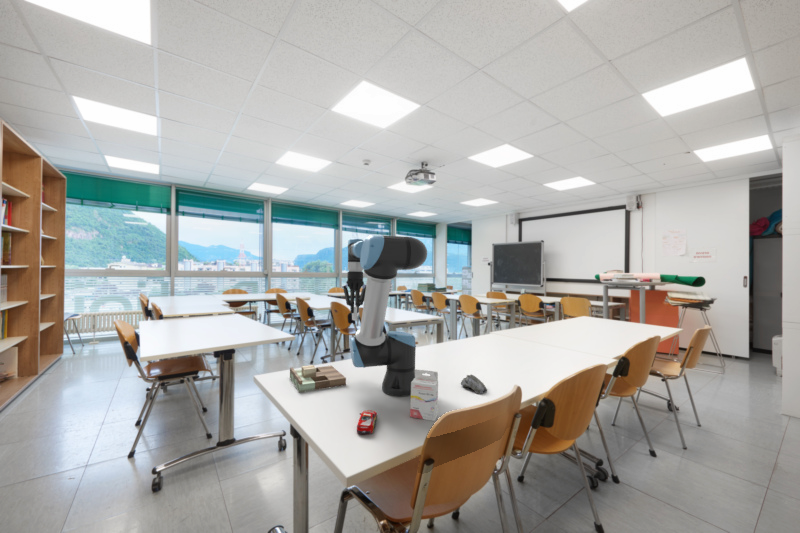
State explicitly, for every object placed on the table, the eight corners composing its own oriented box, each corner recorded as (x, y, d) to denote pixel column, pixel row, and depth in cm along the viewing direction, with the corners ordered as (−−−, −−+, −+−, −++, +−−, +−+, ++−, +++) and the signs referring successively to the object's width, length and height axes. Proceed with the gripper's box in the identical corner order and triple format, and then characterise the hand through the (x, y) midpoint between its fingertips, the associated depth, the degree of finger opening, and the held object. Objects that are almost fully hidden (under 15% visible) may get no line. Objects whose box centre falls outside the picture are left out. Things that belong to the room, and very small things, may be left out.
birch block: (316, 376, 139) (316, 368, 139) (304, 378, 137) (304, 369, 137) (313, 373, 143) (313, 365, 144) (301, 374, 141) (301, 366, 141)
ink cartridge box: (409, 417, 108) (410, 372, 108) (413, 411, 113) (414, 368, 113) (435, 421, 105) (436, 375, 106) (438, 415, 110) (438, 371, 110)
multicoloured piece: (345, 385, 138) (345, 374, 138) (299, 392, 129) (299, 380, 129) (331, 371, 155) (331, 362, 155) (289, 377, 146) (290, 367, 146)
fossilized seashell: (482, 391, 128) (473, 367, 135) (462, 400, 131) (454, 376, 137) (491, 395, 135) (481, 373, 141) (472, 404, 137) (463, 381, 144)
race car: (362, 416, 109) (362, 404, 109) (378, 417, 109) (378, 404, 109) (354, 435, 96) (354, 422, 96) (372, 436, 96) (372, 422, 96)
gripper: (364, 271, 165) (364, 318, 164) (339, 270, 158) (338, 319, 158) (370, 271, 158) (370, 320, 158) (345, 270, 152) (344, 321, 151)
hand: (354, 319), depth 158 cm, fingers closed
